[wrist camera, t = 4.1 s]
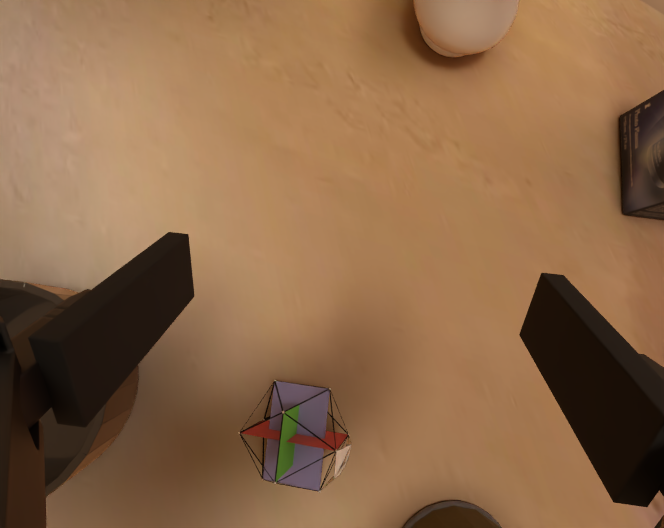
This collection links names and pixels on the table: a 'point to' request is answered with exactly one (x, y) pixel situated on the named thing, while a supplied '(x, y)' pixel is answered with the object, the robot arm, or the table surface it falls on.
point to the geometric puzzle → (298, 436)
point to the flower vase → (464, 24)
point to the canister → (452, 516)
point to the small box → (643, 159)
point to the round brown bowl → (59, 440)
